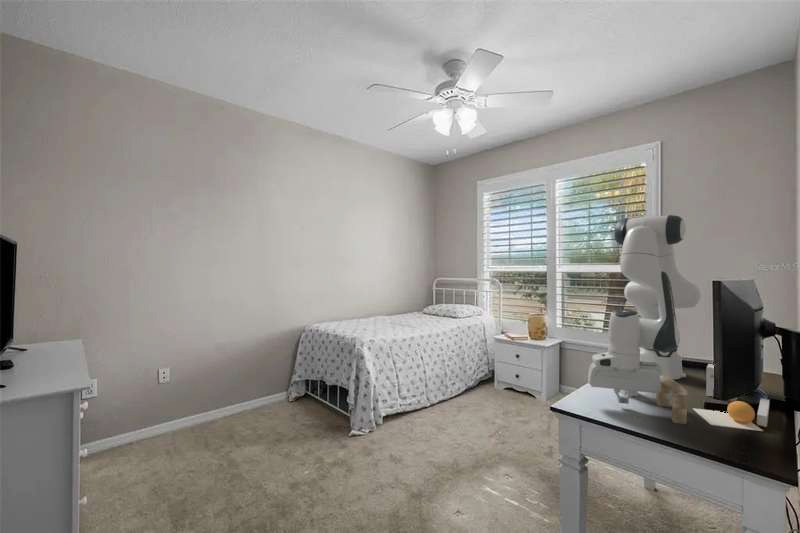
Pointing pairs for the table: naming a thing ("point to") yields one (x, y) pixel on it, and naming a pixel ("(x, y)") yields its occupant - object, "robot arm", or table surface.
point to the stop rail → (763, 412)
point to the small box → (710, 380)
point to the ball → (741, 411)
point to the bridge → (673, 399)
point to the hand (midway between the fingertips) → (622, 402)
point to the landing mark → (724, 420)
